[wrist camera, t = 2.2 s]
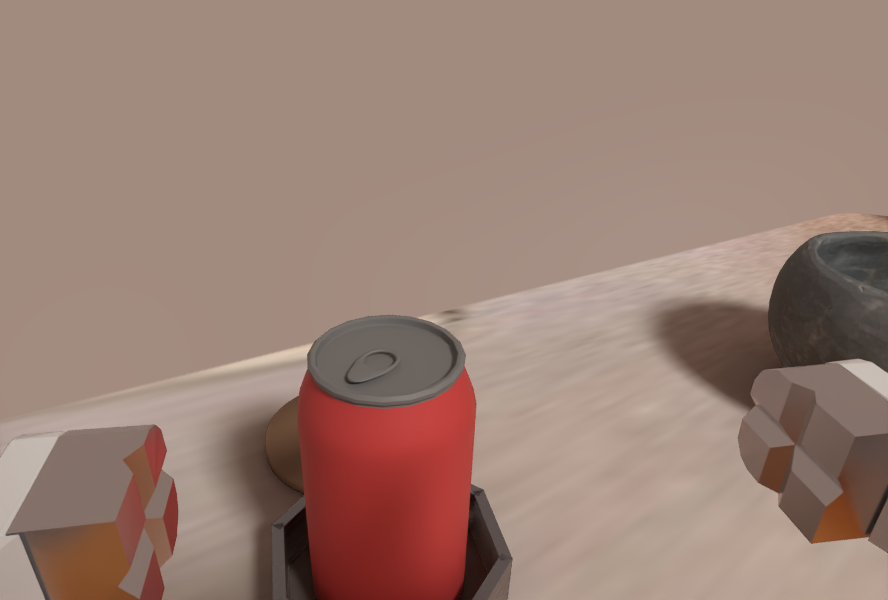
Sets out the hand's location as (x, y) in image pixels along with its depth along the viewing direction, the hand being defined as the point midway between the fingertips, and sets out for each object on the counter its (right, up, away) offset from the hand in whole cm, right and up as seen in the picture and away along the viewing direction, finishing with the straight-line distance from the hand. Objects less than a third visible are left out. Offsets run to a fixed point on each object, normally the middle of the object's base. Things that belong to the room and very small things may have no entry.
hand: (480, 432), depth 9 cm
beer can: (-3, -11, +19) cm, 22 cm away
